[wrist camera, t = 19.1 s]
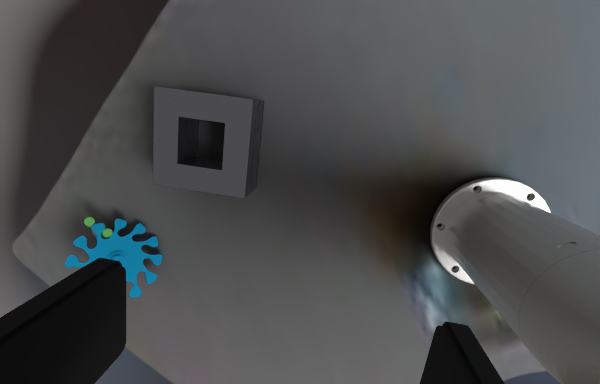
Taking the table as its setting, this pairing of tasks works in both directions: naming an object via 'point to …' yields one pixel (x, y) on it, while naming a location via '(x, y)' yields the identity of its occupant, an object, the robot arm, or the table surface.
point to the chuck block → (184, 142)
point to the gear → (118, 251)
